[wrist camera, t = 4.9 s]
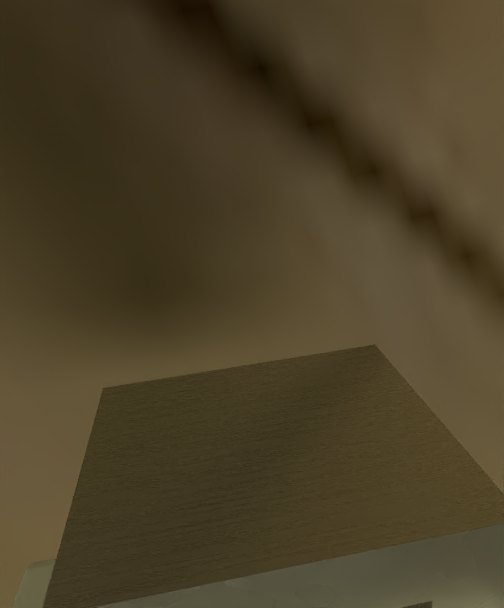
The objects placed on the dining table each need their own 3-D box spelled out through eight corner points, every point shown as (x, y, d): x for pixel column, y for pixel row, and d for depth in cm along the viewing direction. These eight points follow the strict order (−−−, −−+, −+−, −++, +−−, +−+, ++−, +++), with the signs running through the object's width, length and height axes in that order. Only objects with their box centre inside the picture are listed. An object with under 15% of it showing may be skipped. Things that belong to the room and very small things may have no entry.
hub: (375, 344, 10) (525, 518, 6) (373, 538, 12) (480, 769, 8) (103, 388, 9) (40, 618, 5) (153, 582, 11) (139, 858, 7)
